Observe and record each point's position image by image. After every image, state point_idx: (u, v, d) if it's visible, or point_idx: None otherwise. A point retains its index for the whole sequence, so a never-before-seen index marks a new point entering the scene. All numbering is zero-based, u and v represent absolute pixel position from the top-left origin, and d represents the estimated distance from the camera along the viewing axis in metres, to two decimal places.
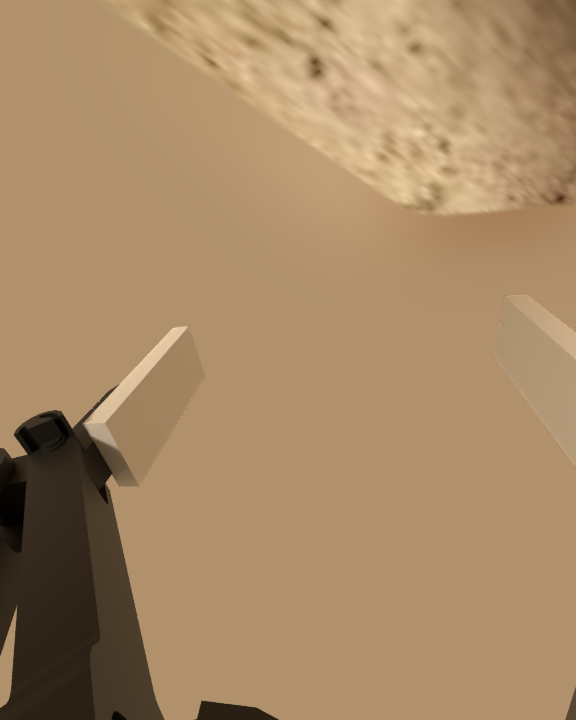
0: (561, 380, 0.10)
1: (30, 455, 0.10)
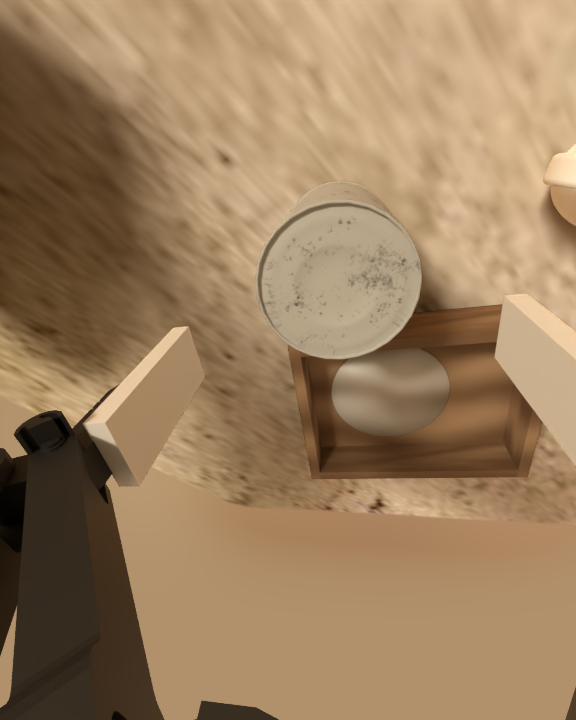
0: (561, 380, 0.10)
1: (30, 455, 0.10)
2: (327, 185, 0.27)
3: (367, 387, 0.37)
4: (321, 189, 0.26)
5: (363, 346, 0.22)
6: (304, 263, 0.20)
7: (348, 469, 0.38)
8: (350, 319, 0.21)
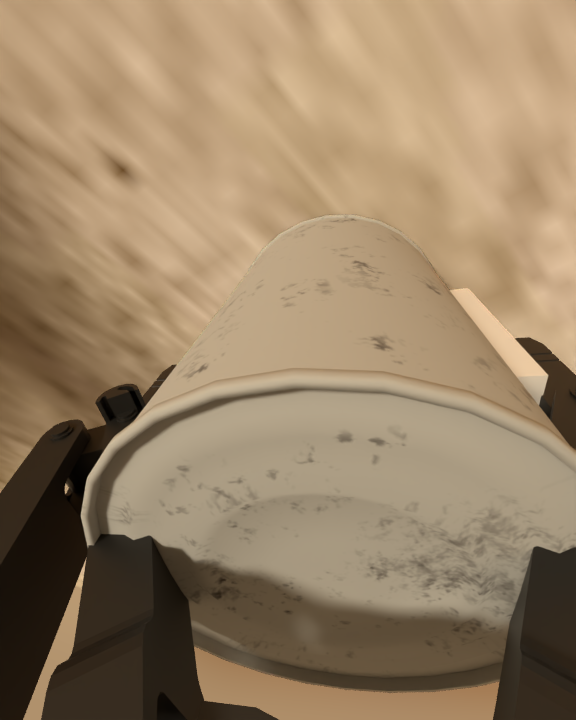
0: None
1: (107, 423, 0.10)
2: (317, 225, 0.14)
3: None
4: (302, 239, 0.12)
5: (402, 671, 0.08)
6: (227, 520, 0.06)
7: None
8: (371, 630, 0.08)
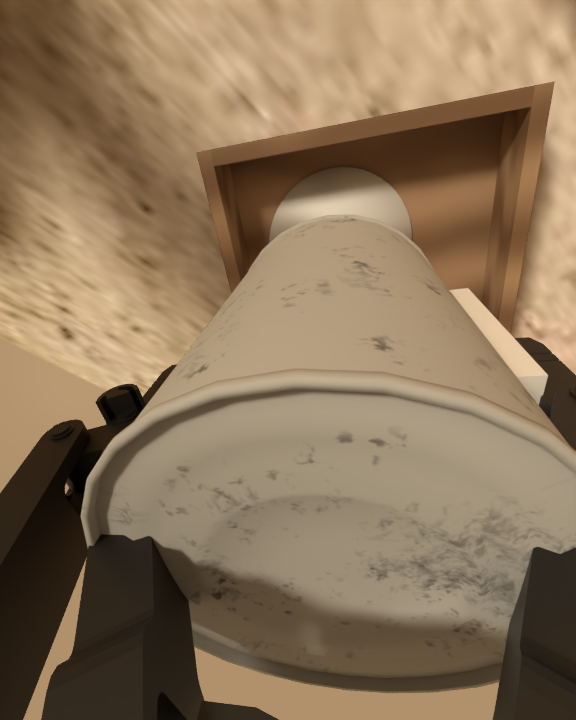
0: None
1: (108, 423, 0.10)
2: (317, 225, 0.14)
3: None
4: (302, 239, 0.12)
5: (402, 672, 0.08)
6: (228, 521, 0.06)
7: None
8: (371, 631, 0.08)
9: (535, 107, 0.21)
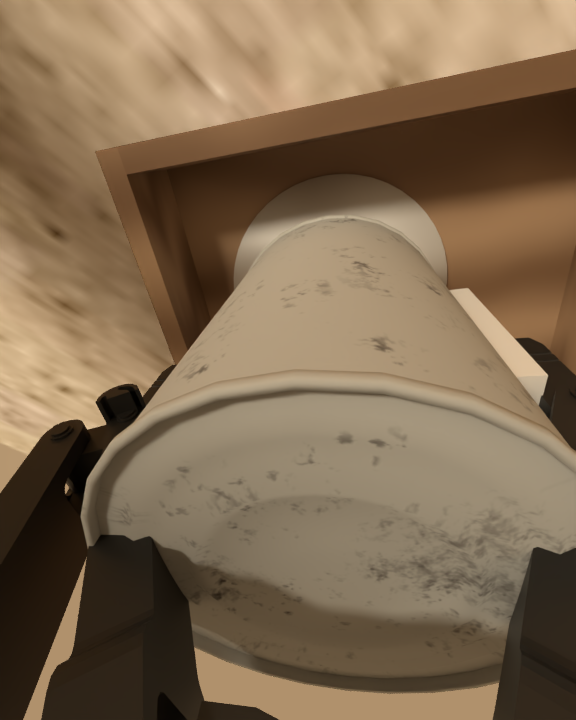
0: None
1: (107, 423, 0.10)
2: (317, 225, 0.14)
3: None
4: (302, 239, 0.12)
5: (402, 673, 0.08)
6: (228, 521, 0.06)
7: None
8: (371, 630, 0.08)
9: None
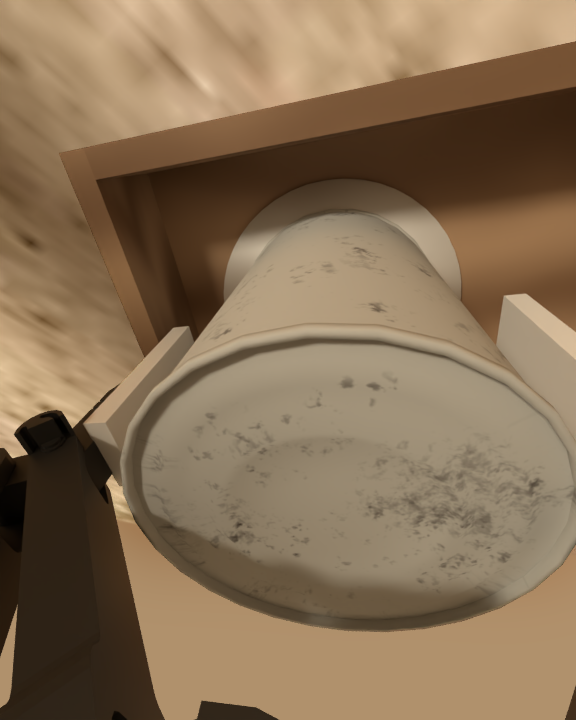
0: (560, 380, 0.10)
1: (30, 455, 0.10)
2: (319, 218, 0.15)
3: None
4: (306, 230, 0.13)
5: (397, 612, 0.09)
6: (247, 465, 0.07)
7: None
8: (370, 570, 0.09)
9: None
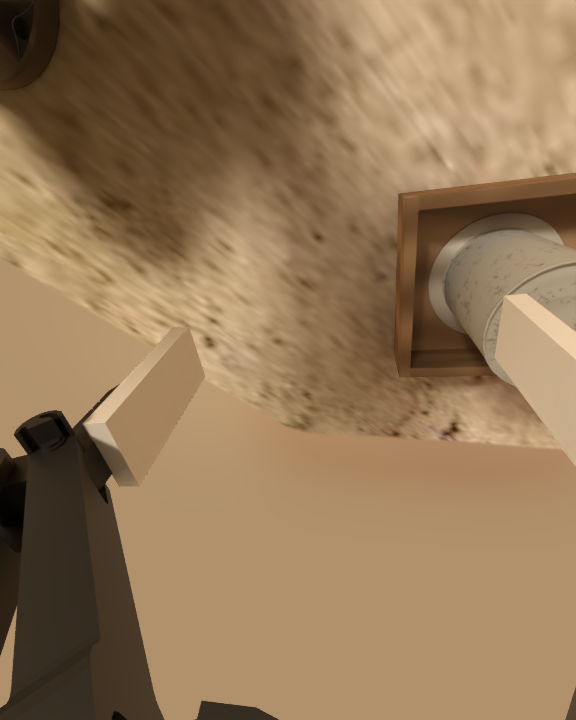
0: (561, 380, 0.10)
1: (30, 455, 0.10)
2: (504, 231, 0.30)
3: None
4: (509, 236, 0.29)
5: None
6: None
7: (442, 366, 0.35)
8: None
9: None
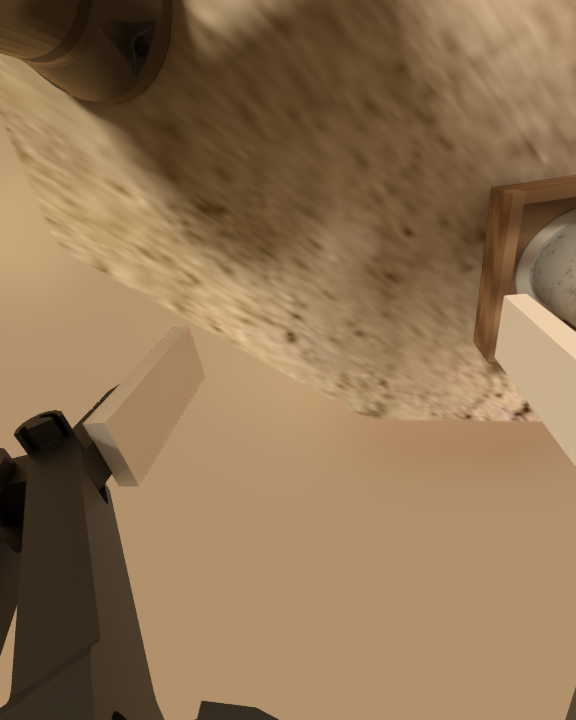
0: (561, 380, 0.10)
1: (30, 455, 0.10)
2: None
3: None
4: None
5: None
6: None
7: None
8: None
9: None
